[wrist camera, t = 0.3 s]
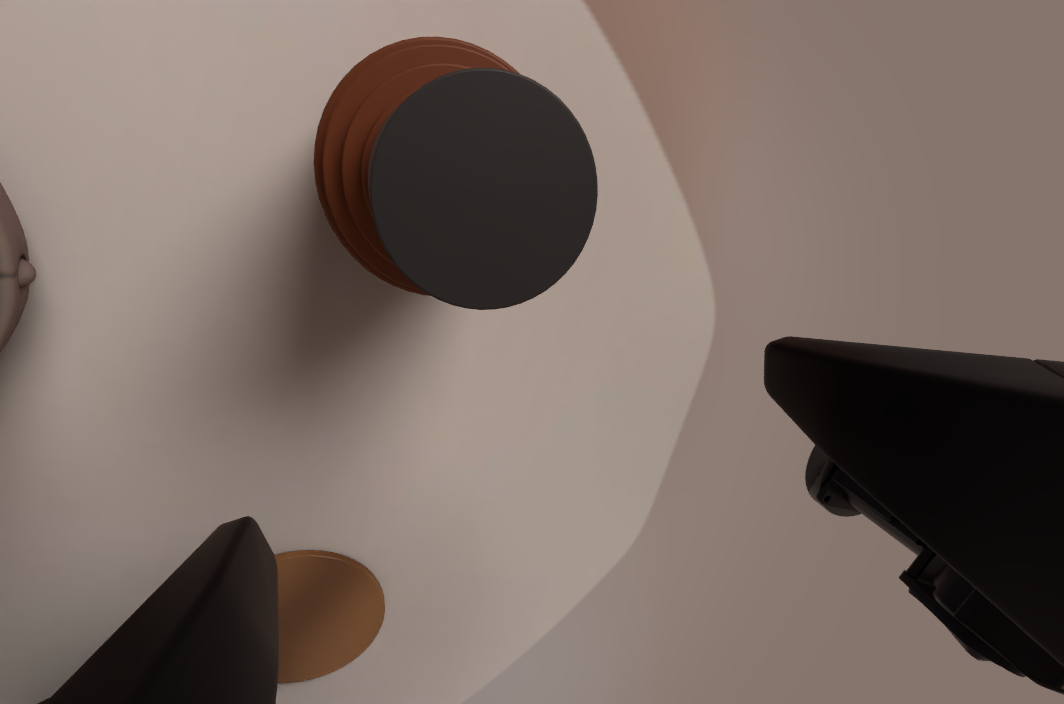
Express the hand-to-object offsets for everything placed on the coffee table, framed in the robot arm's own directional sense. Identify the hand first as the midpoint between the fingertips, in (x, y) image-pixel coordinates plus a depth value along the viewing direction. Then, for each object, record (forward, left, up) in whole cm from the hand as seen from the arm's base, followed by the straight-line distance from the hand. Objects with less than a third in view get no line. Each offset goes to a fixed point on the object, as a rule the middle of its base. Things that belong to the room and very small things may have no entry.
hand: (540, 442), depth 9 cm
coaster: (+1, +19, -14) cm, 23 cm away
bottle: (+2, -3, -14) cm, 15 cm away
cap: (+2, -3, -5) cm, 6 cm away
